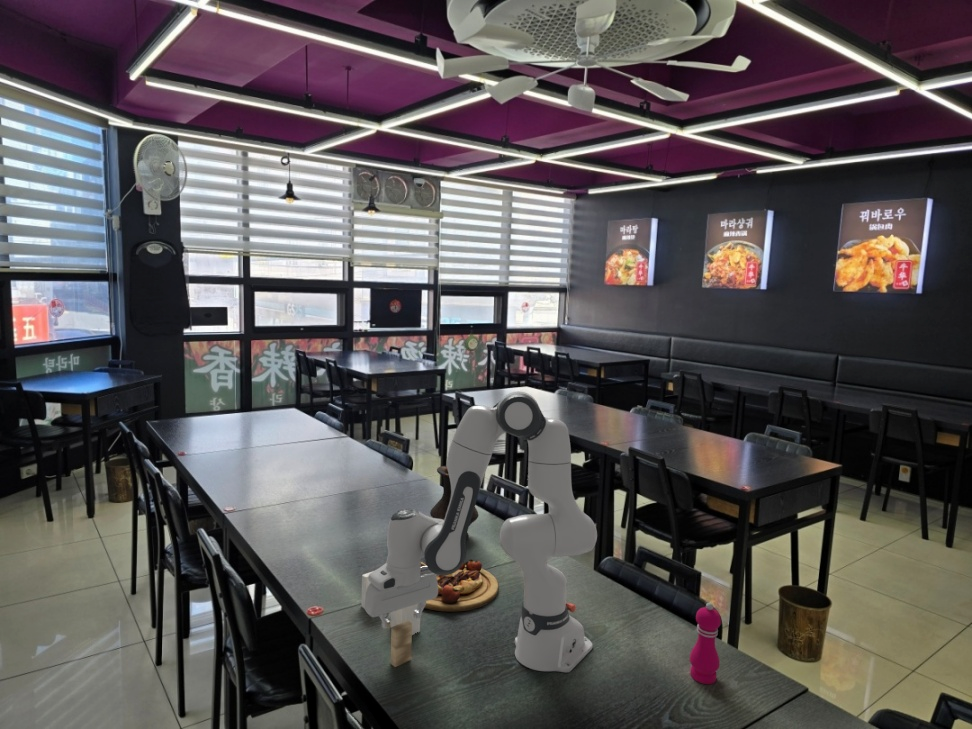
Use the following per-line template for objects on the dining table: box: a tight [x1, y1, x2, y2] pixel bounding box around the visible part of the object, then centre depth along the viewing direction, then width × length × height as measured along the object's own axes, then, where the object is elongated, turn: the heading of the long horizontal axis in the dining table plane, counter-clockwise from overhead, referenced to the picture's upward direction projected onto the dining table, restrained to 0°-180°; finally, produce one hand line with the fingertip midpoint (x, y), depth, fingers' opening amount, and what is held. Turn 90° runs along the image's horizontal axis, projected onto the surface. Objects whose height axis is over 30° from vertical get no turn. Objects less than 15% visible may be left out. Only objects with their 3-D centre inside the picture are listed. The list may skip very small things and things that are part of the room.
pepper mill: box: [689, 602, 722, 685], centre depth 160 cm, size 7×7×20 cm
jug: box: [429, 465, 479, 540], centre depth 240 cm, size 21×18×30 cm
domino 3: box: [390, 621, 413, 668], centre depth 162 cm, size 5×2×10 cm, turn 134°
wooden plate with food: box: [421, 559, 500, 613], centre depth 203 cm, size 32×32×8 cm
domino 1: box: [360, 570, 374, 610], centre depth 189 cm, size 5×2×10 cm, turn 134°
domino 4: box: [402, 604, 421, 636], centre depth 175 cm, size 5×2×10 cm, turn 134°
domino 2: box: [390, 609, 402, 628], centre depth 179 cm, size 5×2×10 cm, turn 134°
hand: (402, 622), depth 165 cm, fingers open, 8 cm apart
